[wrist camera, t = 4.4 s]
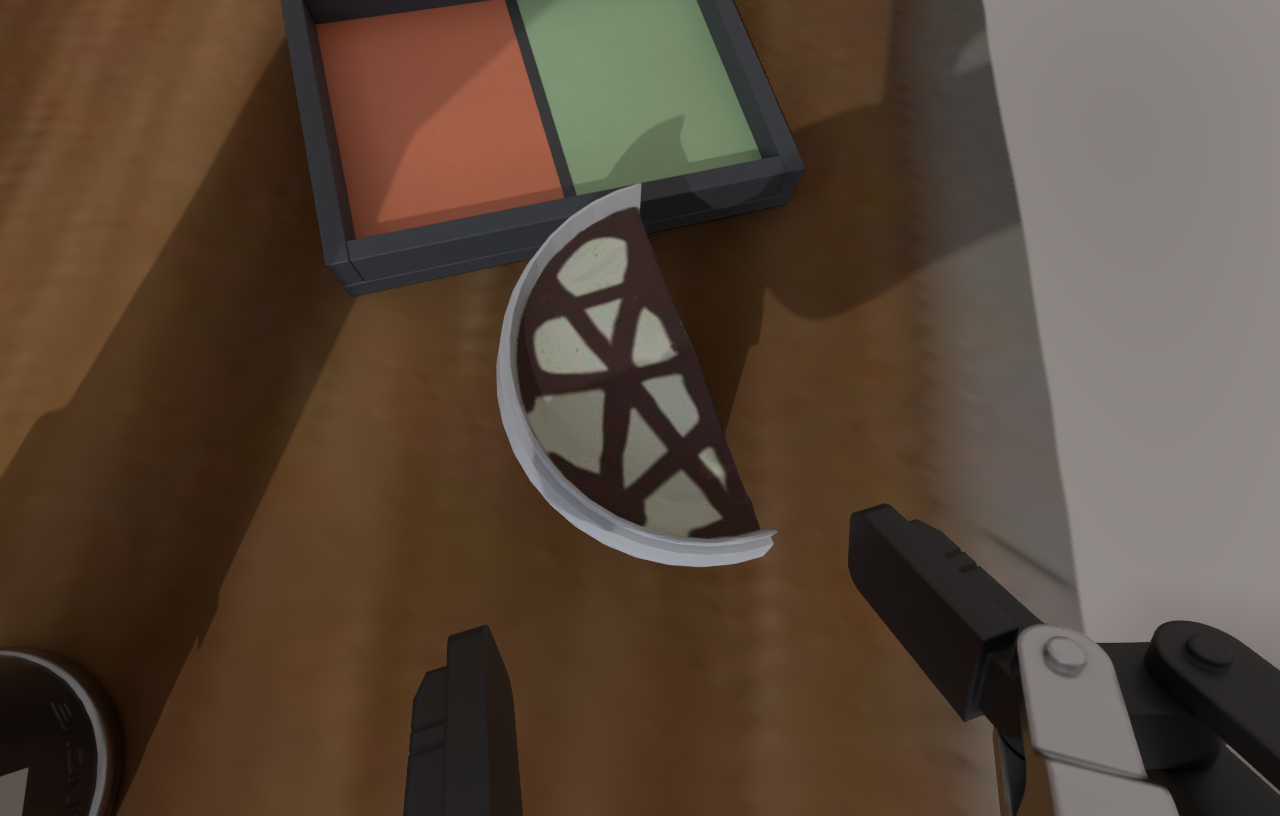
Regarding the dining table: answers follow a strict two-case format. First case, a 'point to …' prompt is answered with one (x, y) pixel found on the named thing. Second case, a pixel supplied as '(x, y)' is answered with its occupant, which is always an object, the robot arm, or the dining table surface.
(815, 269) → the dining table surface
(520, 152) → the sorting tray
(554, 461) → the food container
